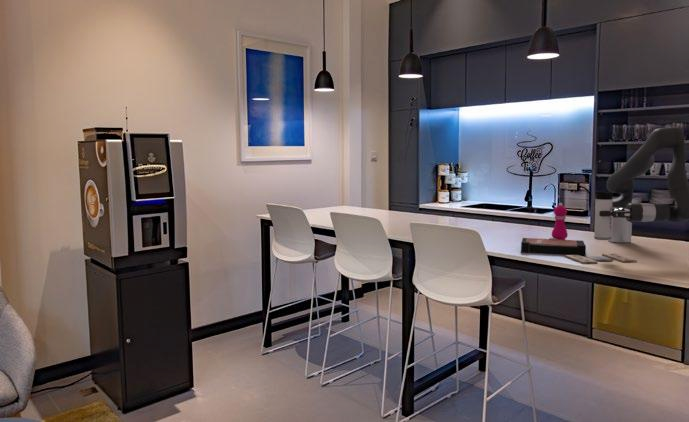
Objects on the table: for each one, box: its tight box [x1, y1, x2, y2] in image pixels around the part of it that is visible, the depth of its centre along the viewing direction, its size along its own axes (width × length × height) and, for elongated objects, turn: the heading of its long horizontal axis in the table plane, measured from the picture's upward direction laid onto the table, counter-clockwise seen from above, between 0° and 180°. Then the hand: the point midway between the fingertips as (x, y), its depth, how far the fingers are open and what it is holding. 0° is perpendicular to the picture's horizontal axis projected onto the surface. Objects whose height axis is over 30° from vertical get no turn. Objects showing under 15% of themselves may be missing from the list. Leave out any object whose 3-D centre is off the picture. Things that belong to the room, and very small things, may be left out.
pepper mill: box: [551, 202, 568, 240], centre depth 252 cm, size 7×7×20 cm
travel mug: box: [593, 190, 614, 241], centre depth 213 cm, size 6×7×20 cm
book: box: [520, 237, 587, 257], centre depth 235 cm, size 26×18×5 cm
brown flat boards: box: [564, 253, 638, 265], centre depth 215 cm, size 23×14×1 cm, turn 96°
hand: (597, 212), depth 213 cm, fingers closed on travel mug, 6 cm apart
